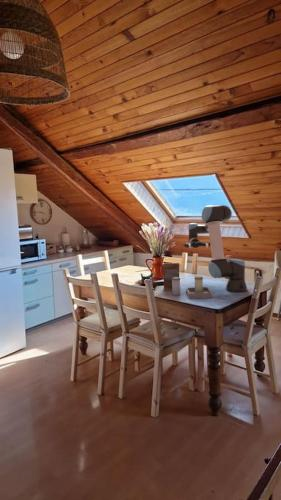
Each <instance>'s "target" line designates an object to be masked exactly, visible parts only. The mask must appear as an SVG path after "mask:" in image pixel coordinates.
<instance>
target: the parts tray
mask: <svg viewBox="0 0 281 500" xmlns="http://www.w3.org/2000/svg"><path fill="white" fill-rule="evenodd" d="M185 289H186V290H185V293H186V295H187V296H188V299H209V298H210V299H212V298H213V292H212V291H211V289H210V288H209V287H208V286H203V293H195V286H194V287H186V288H185Z"/></svg>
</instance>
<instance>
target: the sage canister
mask: <svg viewBox="0 0 281 500" xmlns="http://www.w3.org/2000/svg"><path fill="white" fill-rule="evenodd" d="M203 280H204V277H203V276H199V275H197V276H196V275H195V276H194V287H195V293H203V287H204V281H203Z"/></svg>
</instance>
